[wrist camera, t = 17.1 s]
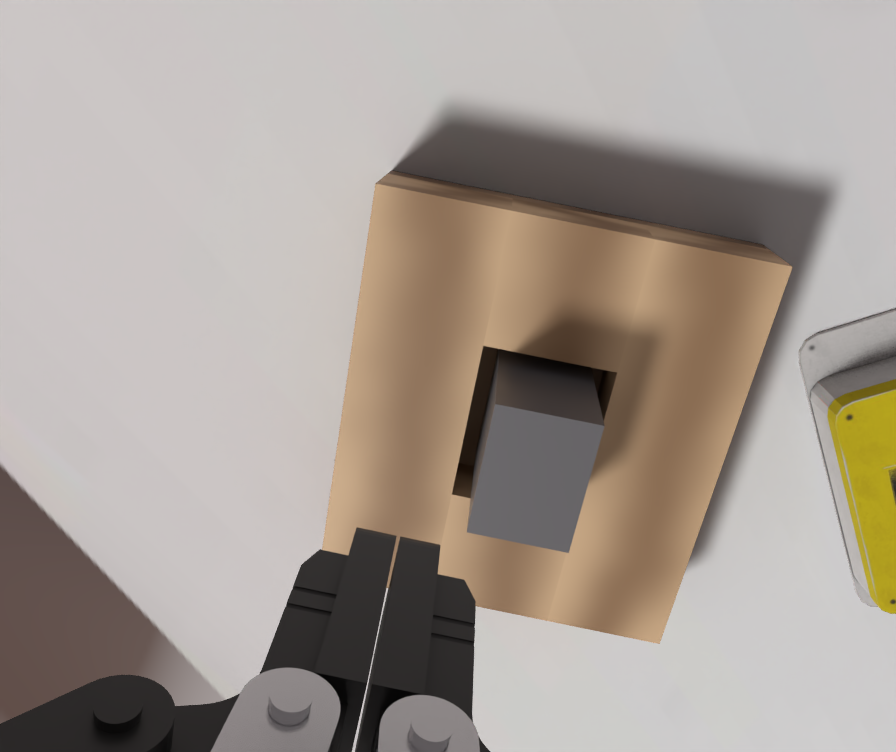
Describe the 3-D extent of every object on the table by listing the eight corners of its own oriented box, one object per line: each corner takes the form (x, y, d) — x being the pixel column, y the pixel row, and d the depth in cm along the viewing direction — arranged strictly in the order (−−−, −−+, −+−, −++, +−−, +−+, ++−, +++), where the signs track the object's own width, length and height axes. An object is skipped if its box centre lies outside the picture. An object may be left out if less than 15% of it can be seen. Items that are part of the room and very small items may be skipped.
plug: (475, 450, 37) (466, 532, 31) (499, 341, 35) (495, 404, 29) (560, 467, 37) (568, 552, 31) (588, 359, 35) (604, 425, 29)
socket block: (337, 527, 41) (318, 573, 37) (391, 170, 34) (375, 183, 30) (646, 590, 40) (659, 643, 37) (762, 244, 34) (792, 266, 30)
